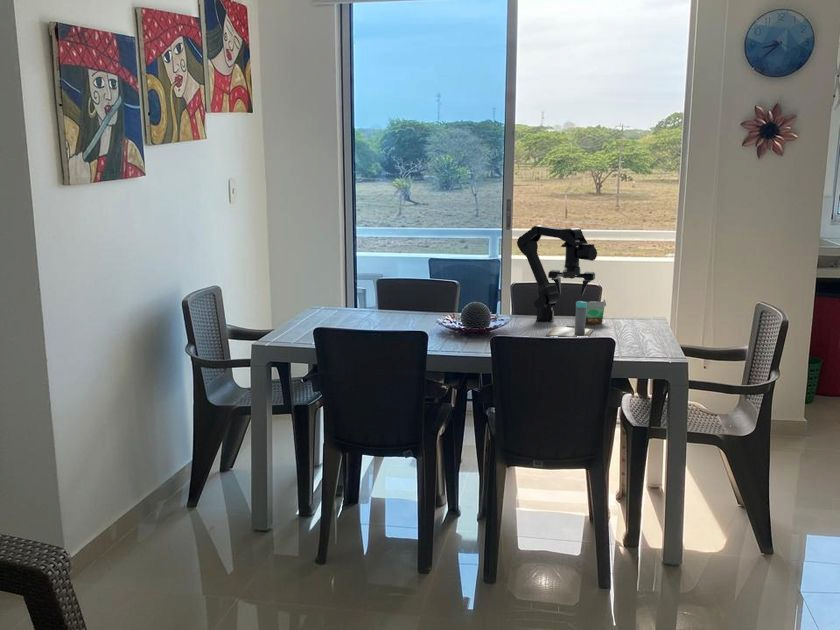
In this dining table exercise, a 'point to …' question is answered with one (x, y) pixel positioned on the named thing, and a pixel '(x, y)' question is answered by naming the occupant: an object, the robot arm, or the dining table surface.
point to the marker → (580, 318)
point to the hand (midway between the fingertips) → (570, 295)
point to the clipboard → (567, 331)
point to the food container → (594, 312)
